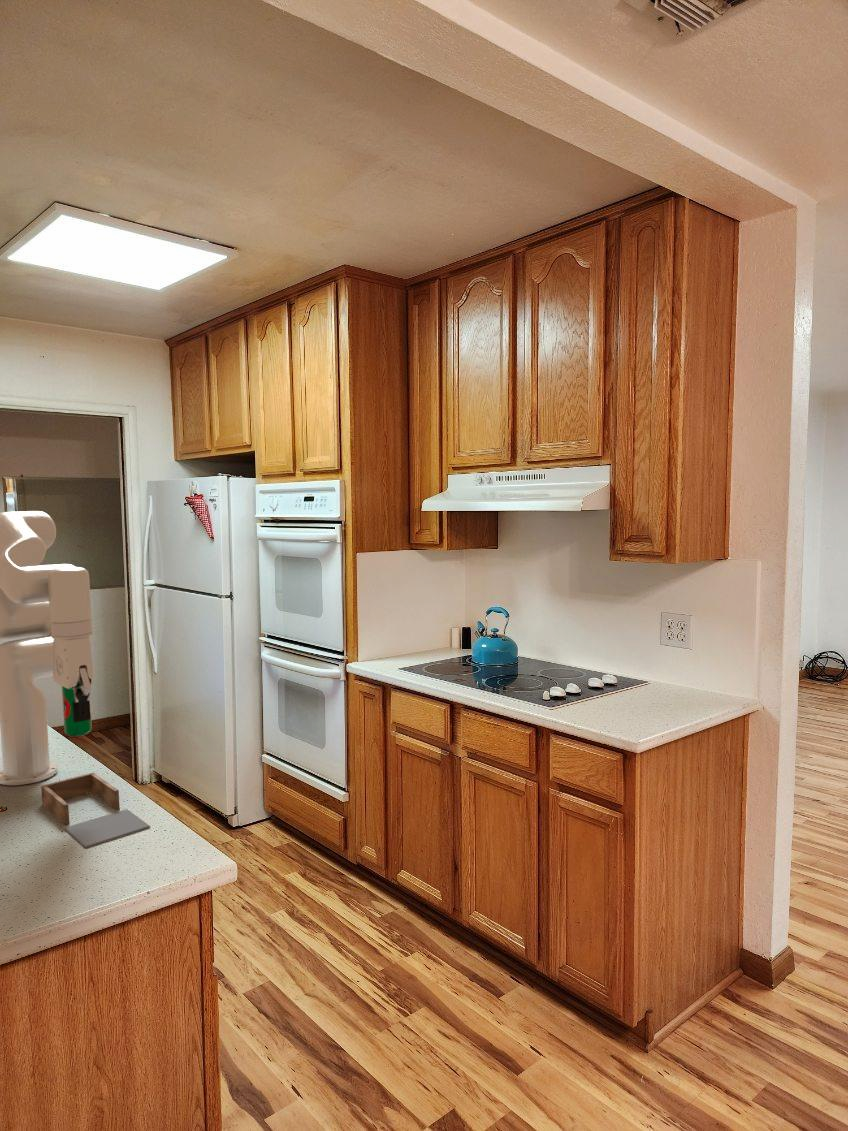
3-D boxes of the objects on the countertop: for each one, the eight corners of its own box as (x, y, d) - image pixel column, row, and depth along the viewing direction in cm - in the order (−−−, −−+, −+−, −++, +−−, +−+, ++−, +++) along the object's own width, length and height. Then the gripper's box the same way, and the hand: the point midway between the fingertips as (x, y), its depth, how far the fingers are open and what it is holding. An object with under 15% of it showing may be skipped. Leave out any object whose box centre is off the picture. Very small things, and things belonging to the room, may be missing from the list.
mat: (64, 829, 146) (64, 827, 146) (127, 810, 155) (126, 808, 154) (85, 848, 138) (85, 846, 138) (149, 827, 147) (149, 825, 146)
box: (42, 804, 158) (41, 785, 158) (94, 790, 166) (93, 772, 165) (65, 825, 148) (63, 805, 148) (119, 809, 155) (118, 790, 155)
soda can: (81, 737, 151) (78, 678, 150) (59, 736, 152) (55, 677, 151) (97, 729, 156) (94, 672, 155) (75, 728, 157) (72, 671, 156)
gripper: (38, 626, 156) (44, 713, 158) (66, 637, 144) (72, 731, 145) (76, 621, 161) (81, 706, 163) (107, 631, 149) (112, 722, 151)
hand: (77, 717), depth 154 cm, fingers closed on soda can, 4 cm apart
